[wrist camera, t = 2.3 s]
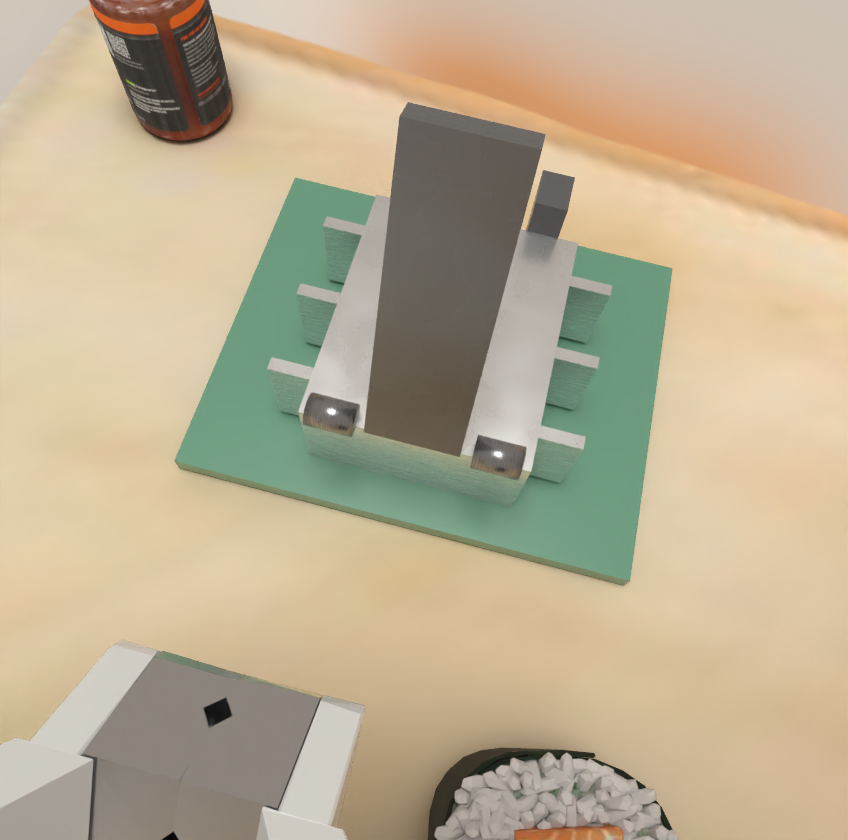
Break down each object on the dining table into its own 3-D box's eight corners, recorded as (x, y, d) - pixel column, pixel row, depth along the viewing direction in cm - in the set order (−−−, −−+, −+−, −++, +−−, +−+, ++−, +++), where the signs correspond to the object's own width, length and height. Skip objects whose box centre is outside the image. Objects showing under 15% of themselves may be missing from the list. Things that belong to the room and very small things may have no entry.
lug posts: (543, 267, 40) (574, 177, 34) (536, 296, 39) (567, 210, 33) (403, 233, 40) (408, 138, 34) (394, 261, 40) (397, 169, 33)
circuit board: (665, 278, 41) (672, 268, 41) (623, 585, 34) (629, 580, 33) (296, 189, 43) (295, 177, 42) (179, 468, 35) (174, 461, 34)
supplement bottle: (239, 77, 46) (199, -115, 36) (228, 148, 44) (180, -35, 33) (144, 71, 46) (75, -124, 35) (127, 143, 43) (47, -44, 33)
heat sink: (591, 309, 39) (627, 235, 33) (549, 531, 34) (584, 489, 28) (341, 248, 40) (335, 165, 34) (264, 457, 35) (240, 401, 29)
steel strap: (545, 134, 20) (542, 149, 20) (464, 439, 30) (459, 457, 29) (407, 102, 21) (399, 116, 20) (370, 415, 30) (363, 432, 29)
